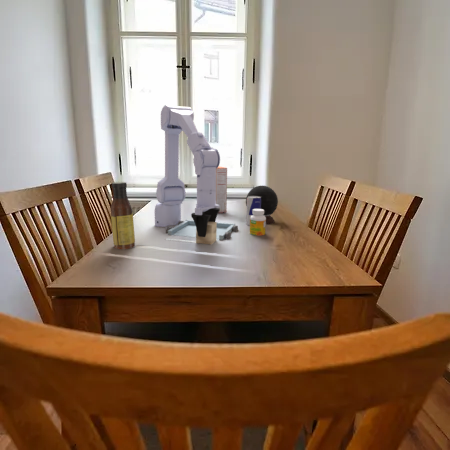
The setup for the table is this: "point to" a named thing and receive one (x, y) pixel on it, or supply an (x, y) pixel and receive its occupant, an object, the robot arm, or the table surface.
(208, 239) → the light wooden block
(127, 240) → the sauce bottle
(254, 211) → the supplement bottle
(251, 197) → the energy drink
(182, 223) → the truck bed
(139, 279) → the table surface
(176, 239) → the tailgate
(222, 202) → the cracker box
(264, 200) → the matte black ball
